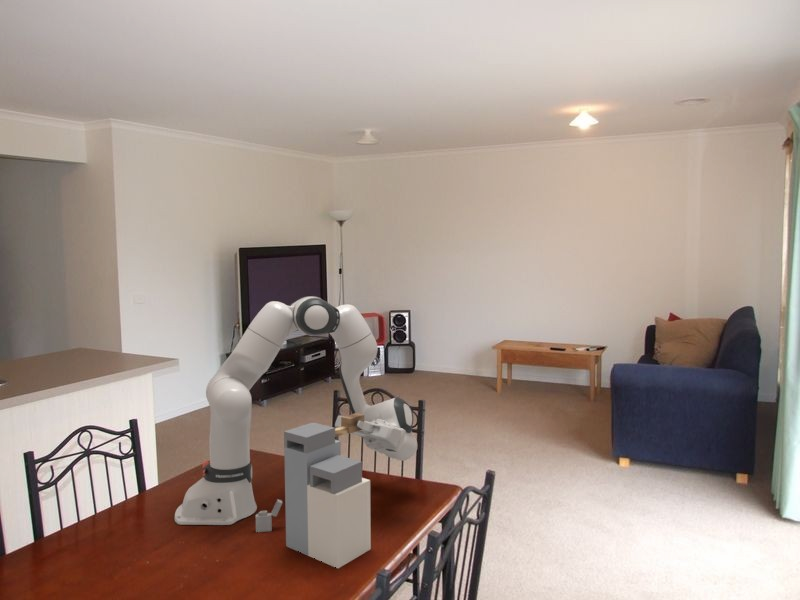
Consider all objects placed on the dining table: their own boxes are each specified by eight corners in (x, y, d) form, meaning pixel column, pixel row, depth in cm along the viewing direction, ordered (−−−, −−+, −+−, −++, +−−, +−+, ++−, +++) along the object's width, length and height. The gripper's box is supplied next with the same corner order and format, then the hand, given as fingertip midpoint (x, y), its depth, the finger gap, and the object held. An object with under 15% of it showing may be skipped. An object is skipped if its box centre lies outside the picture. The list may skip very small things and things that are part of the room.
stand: (319, 529, 172) (318, 420, 169) (370, 549, 161) (369, 433, 158) (286, 546, 163) (283, 431, 160) (337, 568, 152) (336, 445, 149)
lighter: (256, 532, 170) (255, 503, 170) (255, 529, 172) (255, 501, 171) (283, 529, 172) (282, 500, 171) (282, 526, 174) (282, 498, 173)
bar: (356, 427, 178) (356, 412, 177) (364, 429, 176) (364, 414, 176) (311, 440, 164) (311, 425, 164) (320, 442, 162) (320, 427, 162)
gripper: (355, 418, 191) (327, 404, 181) (410, 431, 178) (383, 416, 168) (348, 439, 189) (319, 426, 179) (403, 453, 177) (375, 440, 166)
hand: (350, 421), depth 174 cm, fingers closed on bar, 3 cm apart
